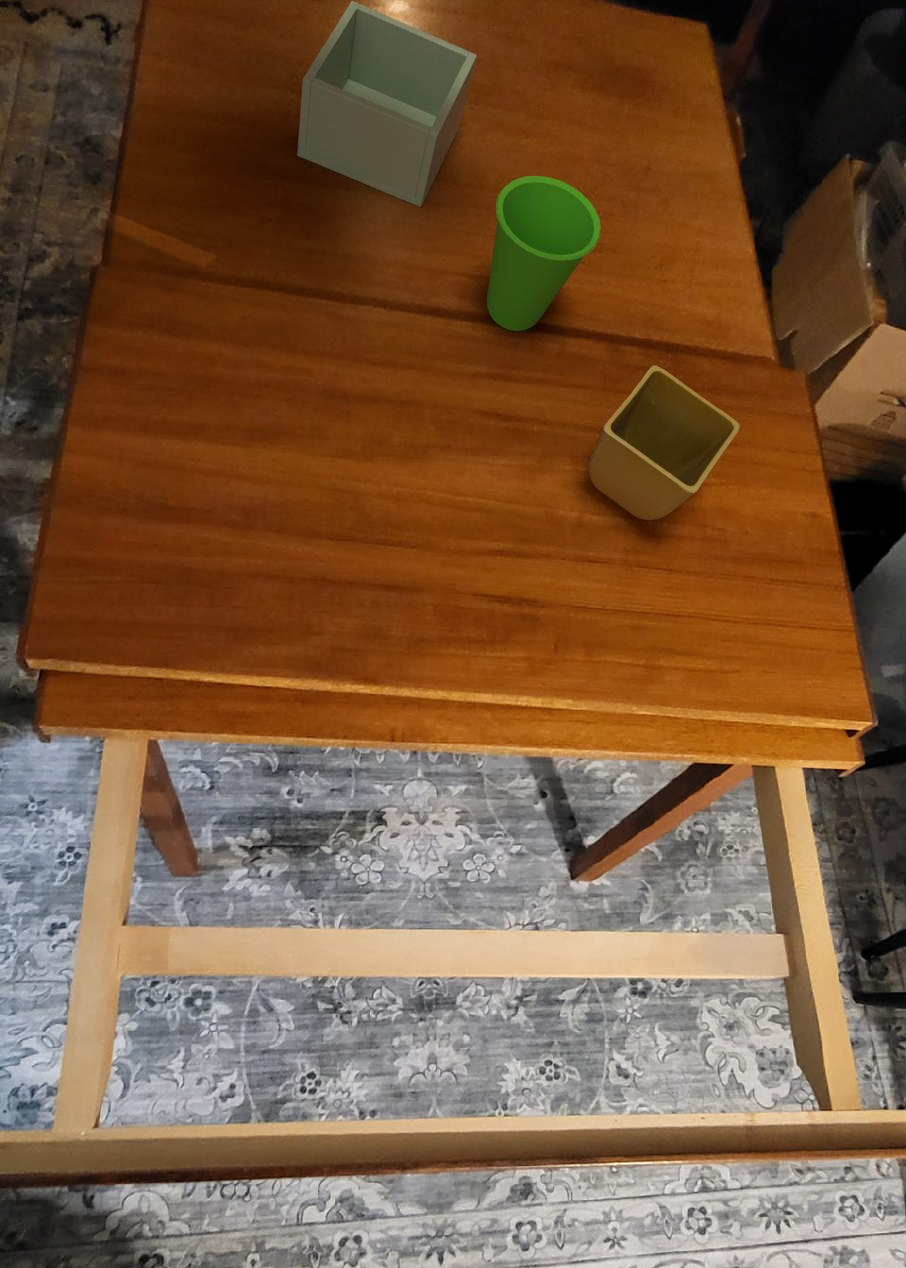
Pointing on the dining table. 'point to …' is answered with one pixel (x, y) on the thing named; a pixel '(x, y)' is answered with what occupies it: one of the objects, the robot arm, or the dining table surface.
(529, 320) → the cup
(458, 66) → the bin
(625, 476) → the flower pot
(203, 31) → the dining table surface
